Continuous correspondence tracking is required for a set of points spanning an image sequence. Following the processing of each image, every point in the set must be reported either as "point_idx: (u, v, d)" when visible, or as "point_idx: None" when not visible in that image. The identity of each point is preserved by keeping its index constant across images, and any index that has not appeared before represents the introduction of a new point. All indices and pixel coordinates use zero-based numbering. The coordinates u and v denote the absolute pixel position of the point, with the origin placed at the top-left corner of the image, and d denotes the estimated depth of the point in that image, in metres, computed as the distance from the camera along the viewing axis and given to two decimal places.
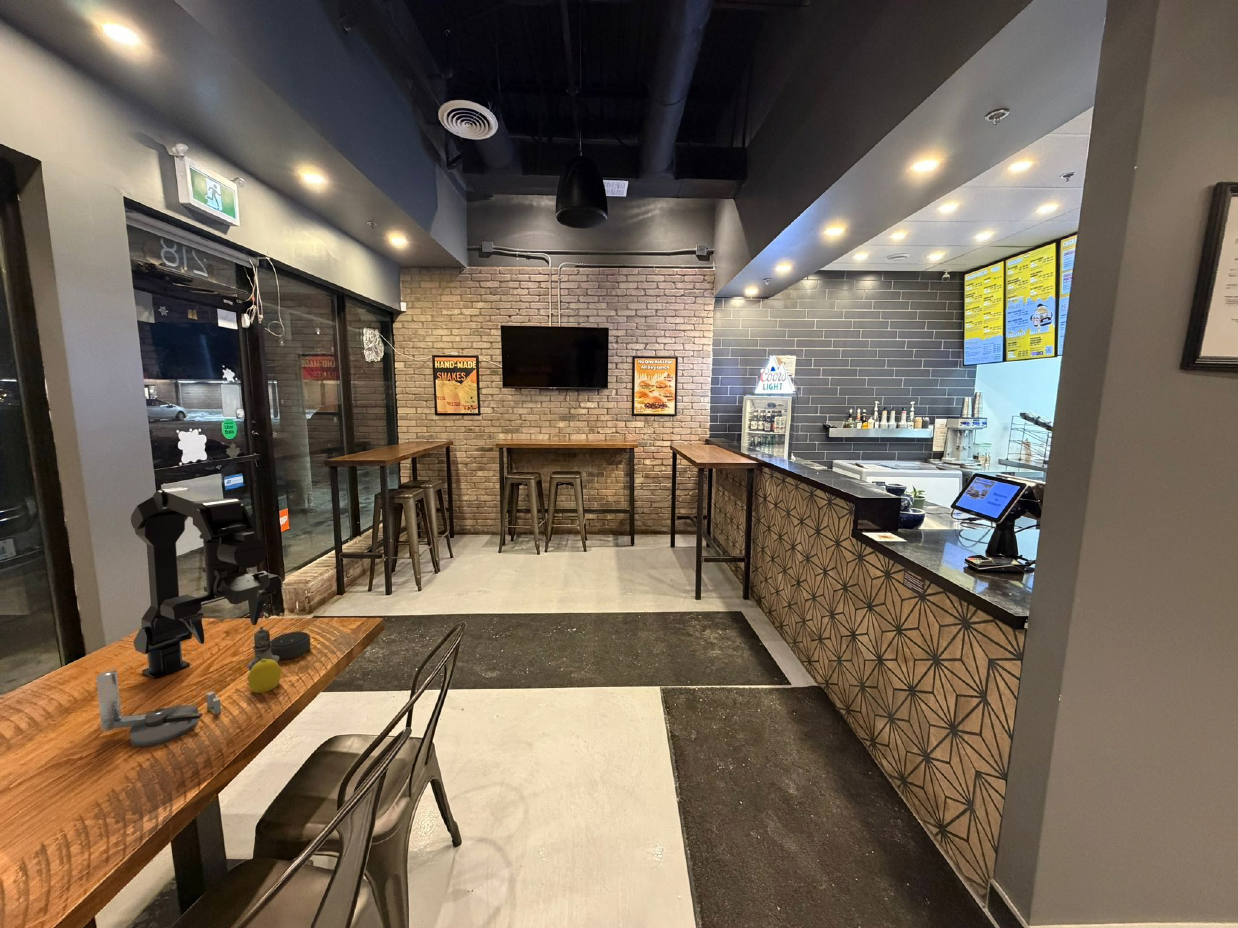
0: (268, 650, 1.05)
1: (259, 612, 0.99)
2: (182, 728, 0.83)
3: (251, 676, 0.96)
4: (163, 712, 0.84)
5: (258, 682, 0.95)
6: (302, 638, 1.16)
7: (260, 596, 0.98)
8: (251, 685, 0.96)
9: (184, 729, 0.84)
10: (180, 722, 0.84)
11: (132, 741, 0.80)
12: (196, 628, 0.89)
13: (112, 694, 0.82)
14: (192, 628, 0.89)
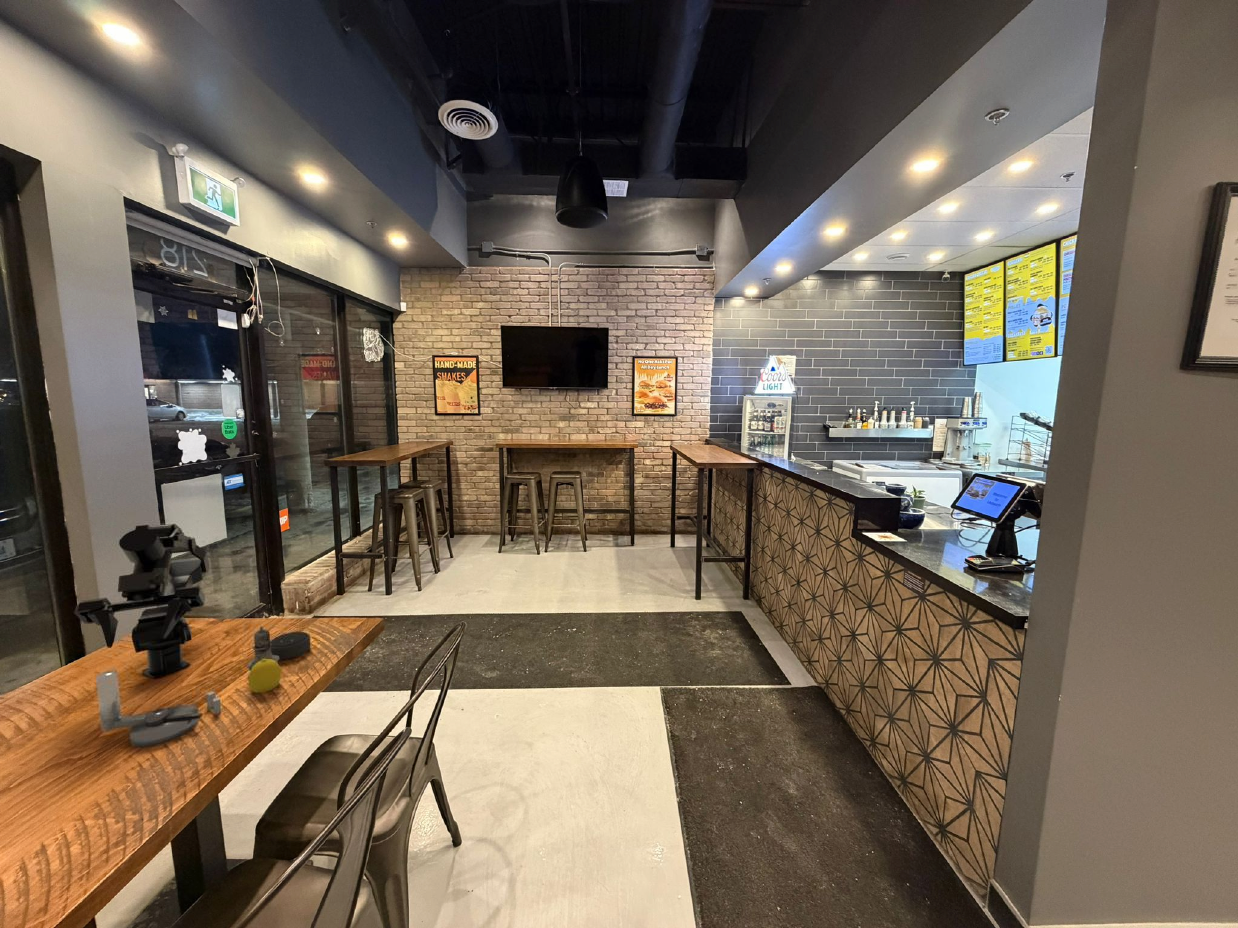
0: (268, 650, 1.05)
1: (168, 622, 0.97)
2: (182, 728, 0.83)
3: (251, 676, 0.96)
4: (163, 712, 0.84)
5: (258, 682, 0.95)
6: (302, 638, 1.16)
7: None
8: (251, 685, 0.96)
9: (184, 729, 0.84)
10: (180, 722, 0.84)
11: (132, 741, 0.80)
12: (103, 627, 0.92)
13: (112, 694, 0.82)
14: None
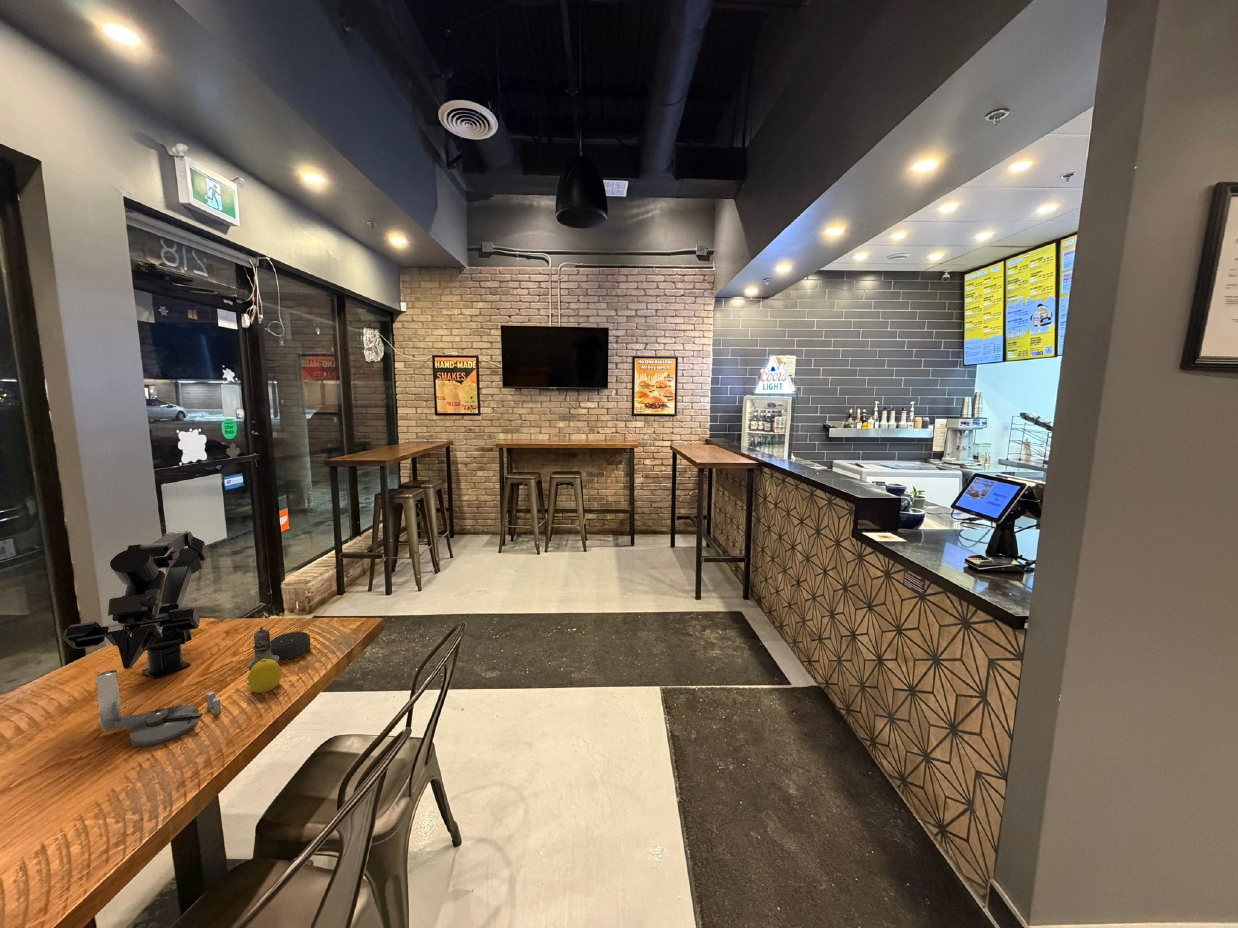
0: (268, 650, 1.05)
1: (134, 651, 0.90)
2: (182, 728, 0.83)
3: (251, 676, 0.96)
4: (163, 712, 0.84)
5: (258, 682, 0.95)
6: (302, 638, 1.16)
7: None
8: (251, 685, 0.96)
9: (184, 729, 0.84)
10: (180, 722, 0.84)
11: (132, 741, 0.80)
12: (119, 648, 0.90)
13: (112, 694, 0.82)
14: None
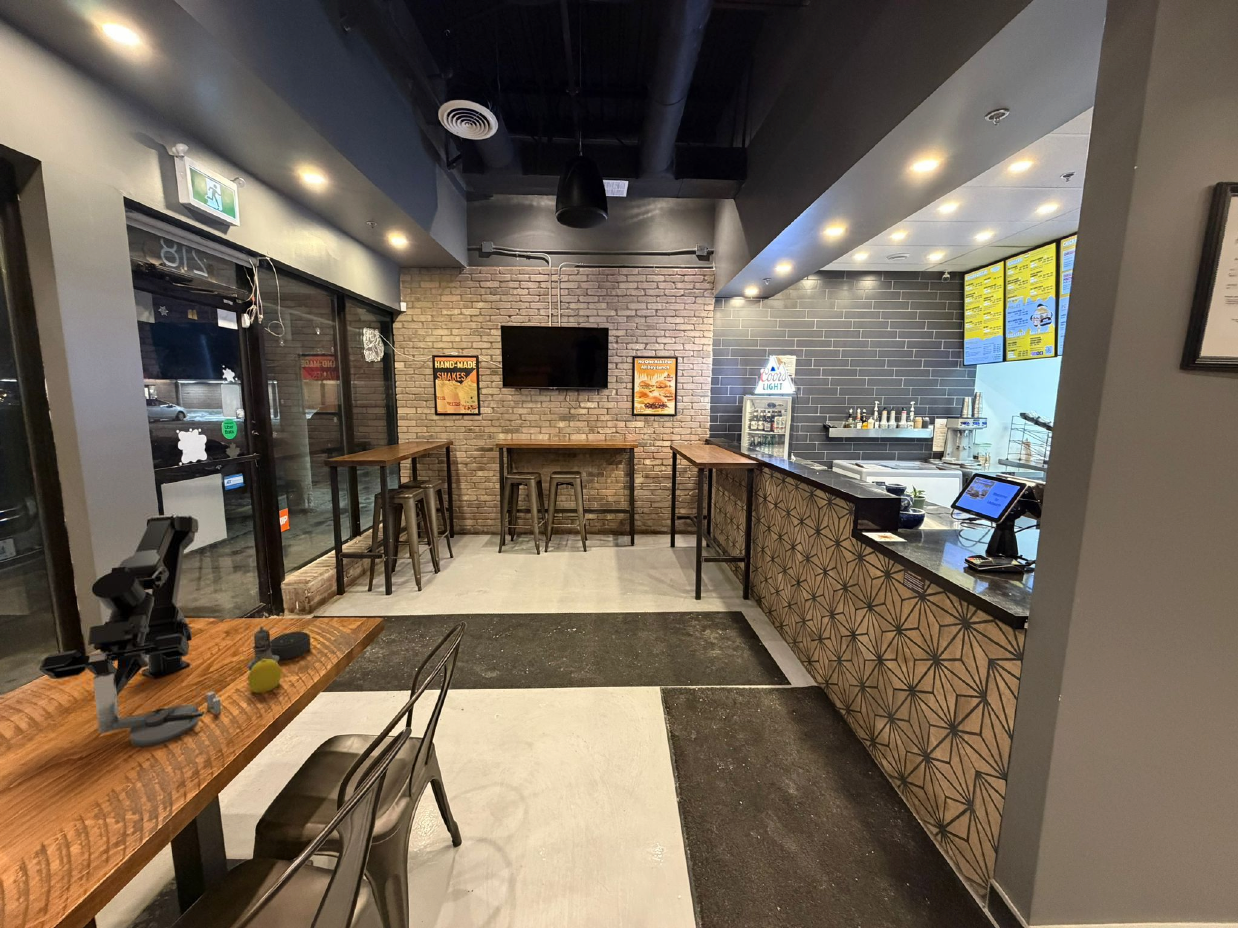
0: (268, 650, 1.05)
1: (116, 683, 0.84)
2: (184, 726, 0.84)
3: (251, 676, 0.96)
4: (164, 712, 0.84)
5: (258, 682, 0.95)
6: (302, 638, 1.16)
7: None
8: (251, 685, 0.96)
9: (186, 727, 0.84)
10: (181, 720, 0.84)
11: (133, 741, 0.80)
12: None
13: (110, 695, 0.81)
14: None
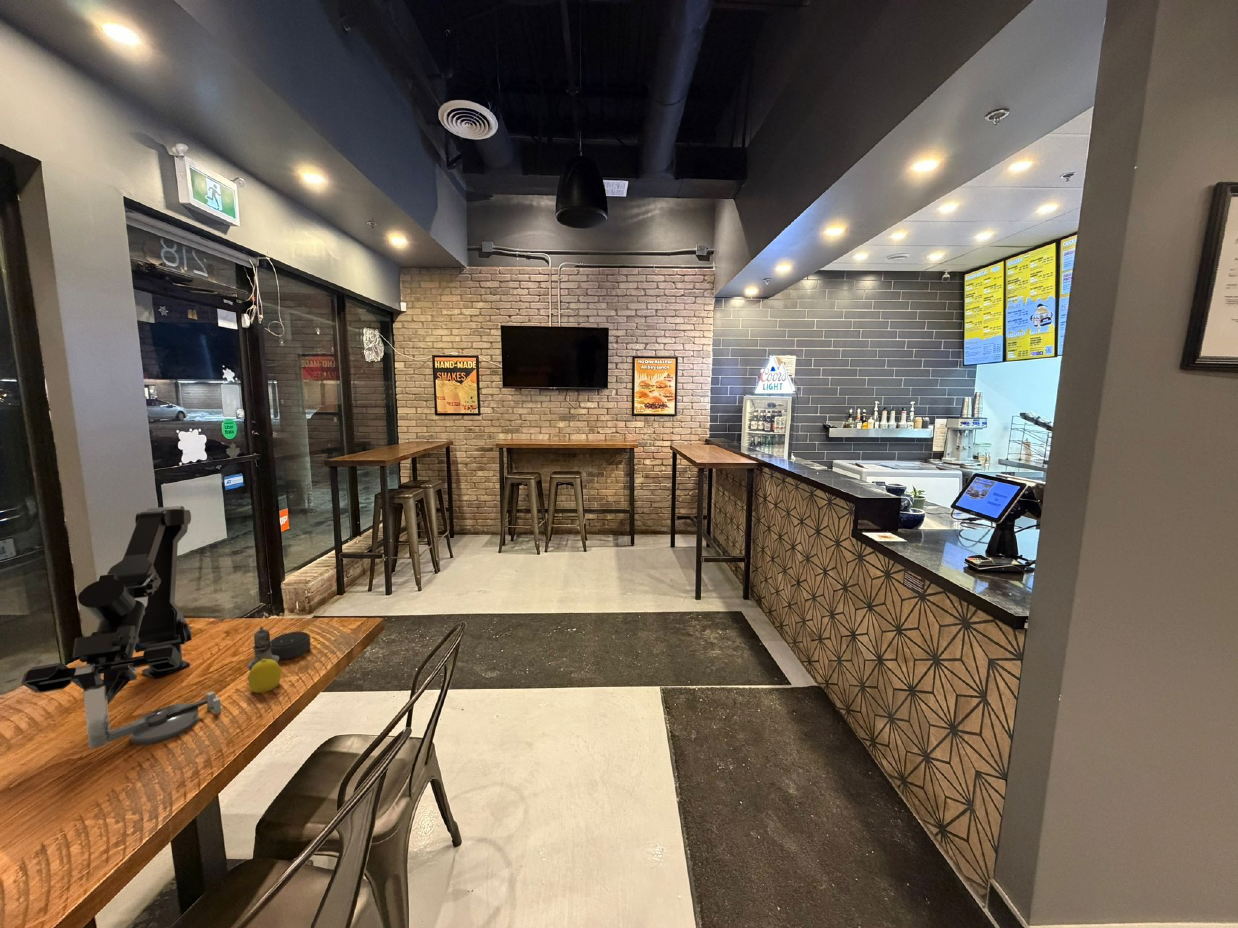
0: (268, 650, 1.05)
1: None
2: (197, 714, 0.87)
3: (251, 676, 0.96)
4: (165, 710, 0.85)
5: (258, 682, 0.95)
6: (302, 638, 1.16)
7: None
8: (251, 685, 0.96)
9: (197, 715, 0.88)
10: (189, 711, 0.87)
11: (151, 739, 0.81)
12: None
13: (106, 706, 0.78)
14: None
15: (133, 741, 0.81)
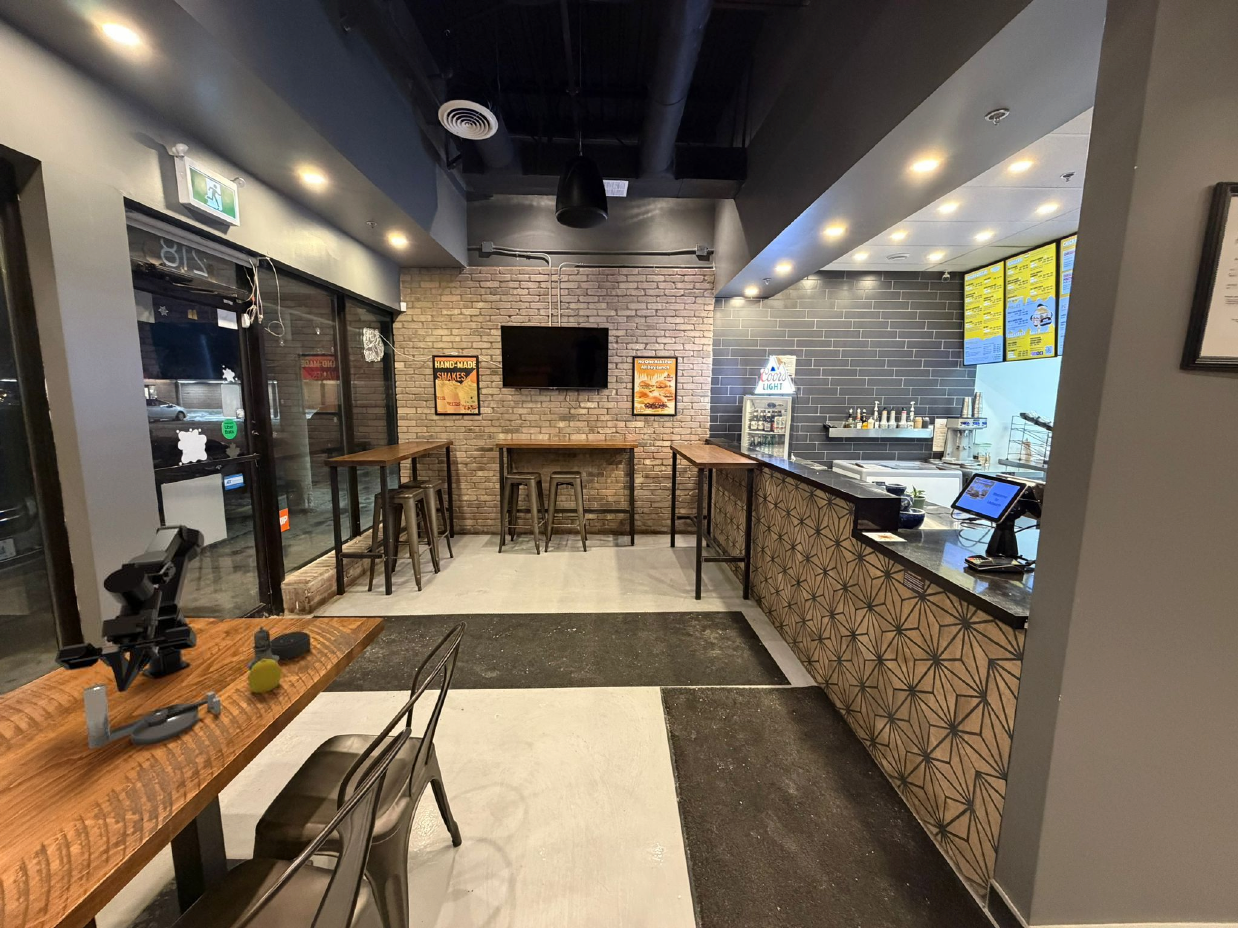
0: (268, 650, 1.05)
1: (129, 674, 0.88)
2: (197, 714, 0.87)
3: (251, 676, 0.96)
4: (165, 709, 0.85)
5: (258, 682, 0.95)
6: (302, 638, 1.16)
7: None
8: (251, 685, 0.96)
9: (197, 715, 0.88)
10: (189, 711, 0.87)
11: (151, 739, 0.81)
12: (114, 670, 0.87)
13: (106, 706, 0.78)
14: None
15: (133, 741, 0.81)
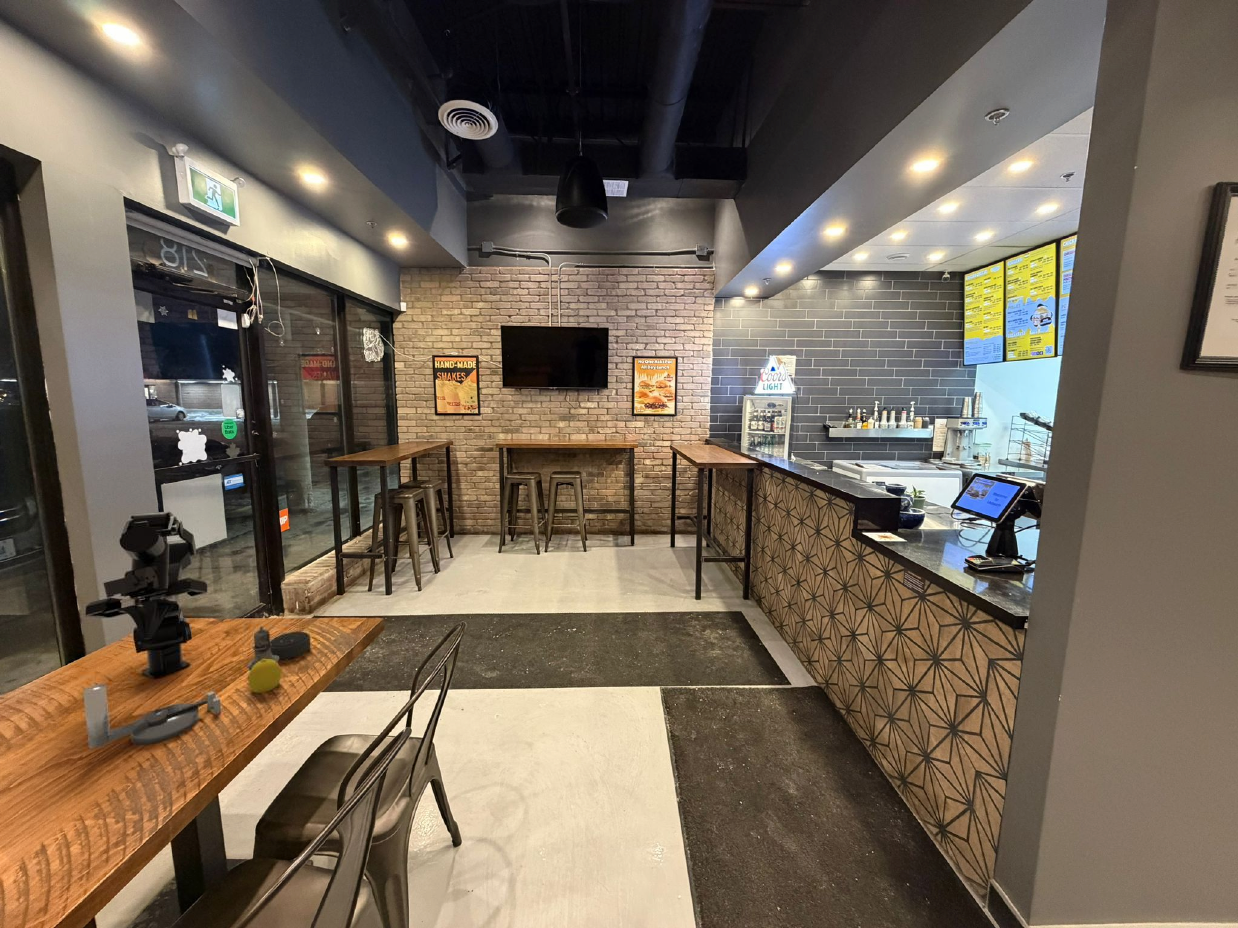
0: (268, 650, 1.05)
1: (148, 623, 0.95)
2: (197, 714, 0.87)
3: (251, 676, 0.96)
4: (165, 709, 0.85)
5: (258, 682, 0.95)
6: (302, 638, 1.16)
7: None
8: (251, 685, 0.96)
9: (197, 715, 0.88)
10: (189, 711, 0.87)
11: (151, 739, 0.81)
12: (135, 621, 0.95)
13: (106, 706, 0.78)
14: None
15: (133, 741, 0.81)
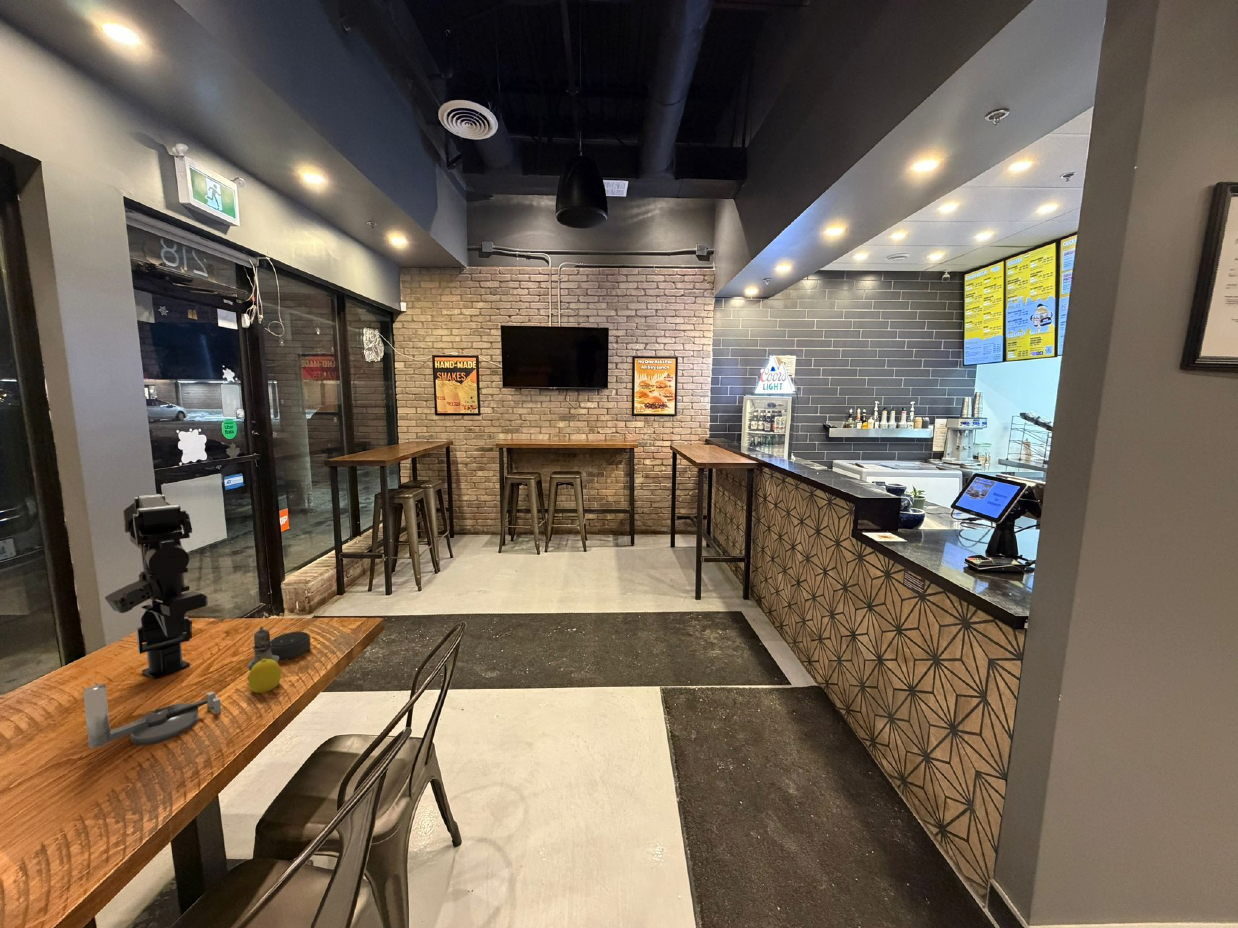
0: (268, 650, 1.05)
1: (164, 626, 0.96)
2: (197, 714, 0.87)
3: (251, 676, 0.96)
4: (165, 709, 0.85)
5: (258, 682, 0.95)
6: (302, 638, 1.16)
7: None
8: (251, 685, 0.96)
9: (197, 715, 0.88)
10: (189, 711, 0.87)
11: (151, 739, 0.81)
12: (157, 619, 0.96)
13: (106, 706, 0.78)
14: None
15: (133, 741, 0.81)
